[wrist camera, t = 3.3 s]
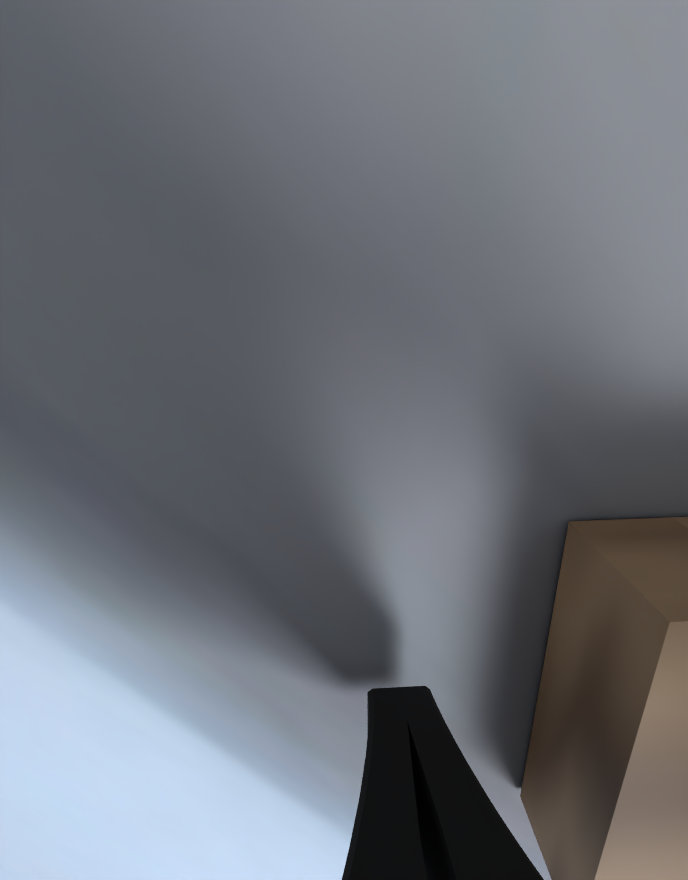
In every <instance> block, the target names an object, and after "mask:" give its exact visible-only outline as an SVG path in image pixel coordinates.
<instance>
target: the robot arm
mask: <svg viewBox="0 0 688 880" xmlns="http://www.w3.org/2000/svg"><path fill="white" fill-rule="evenodd" d="M342 880H544V879H543V878H542V877H541V875H540V874H539V872H538V871H537V870H536V868H535V867H534V865H533V864H532V862H531V861H530V860H529V858H528V857H527V855H526V854H525V852H524V851H523V850H522V848H521V847H520V845H519V844H518V842H517V841H516V839H515V838H514V836H513V835H512V833H511V832H510V830H509V829H508V827H507V826H506V824H505V823H504V821H503V820H502V818H501V817H500V815H499V814H498V812H497V810H496V809H495V807H494V806H493V804H492V803H491V801H490V799H489V798H488V796H487V795H486V793H485V791H484V790H483V788H482V786H481V785H480V783H479V781H478V780H477V778H476V776H475V775H474V773H473V771H472V770H471V768H470V766H469V765H468V763H467V761H466V759H465V758H464V756H463V754H462V752H461V751H460V749H459V747H458V745H457V743H456V742H455V740H454V738H453V736H452V734H451V732H450V730H449V729H448V727H447V725H446V723H445V721H444V719H443V717H442V715H441V713H440V711H439V709H438V707H437V704H436V702H435V700H434V698H433V696H432V693H431V691H430V689H429V688H427V687H426V686H414V687H394V688H375V689H372V690H370V691H369V692H368V739H367V750H366V758H365V765H364V772H363V778H362V785H361V792H360V798H359V803H358V808H357V813H356V818H355V823H354V828H353V833H352V838H351V843H350V847H349V852H348V856H347V860H346V865H345V869H344V873H343V877H342Z"/></svg>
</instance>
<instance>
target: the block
mask: <svg viewBox="0 0 688 880" xmlns="http://www.w3.org/2000/svg"><path fill="white" fill-rule="evenodd" d="M520 797H521V800H522V802H523V805H524V807H525V810H526V813H527V815H528V818H529V821H530V823H531V826H532V829H533V831H534V834H535V837H536V839H537V842H538V845H539V847H540V850H541V852H542V855H543V858H544V860H545V863H546V866H547V868H548V871H549V874H550V876H551V879H552V880H688V517H668V518H643V519H617V520H592V521H569V524H568V530H567V535H566V541H565V547H564V552H563V558H562V564H561V569H560V575H559V581H558V586H557V592H556V597H555V603H554V609H553V614H552V620H551V626H550V631H549V637H548V643H547V648H546V654H545V660H544V665H543V671H542V676H541V682H540V688H539V693H538V699H537V705H536V710H535V716H534V722H533V727H532V733H531V739H530V744H529V750H528V756H527V761H526V767H525V772H524V778H523V784H522V789H521V795H520Z"/></svg>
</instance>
